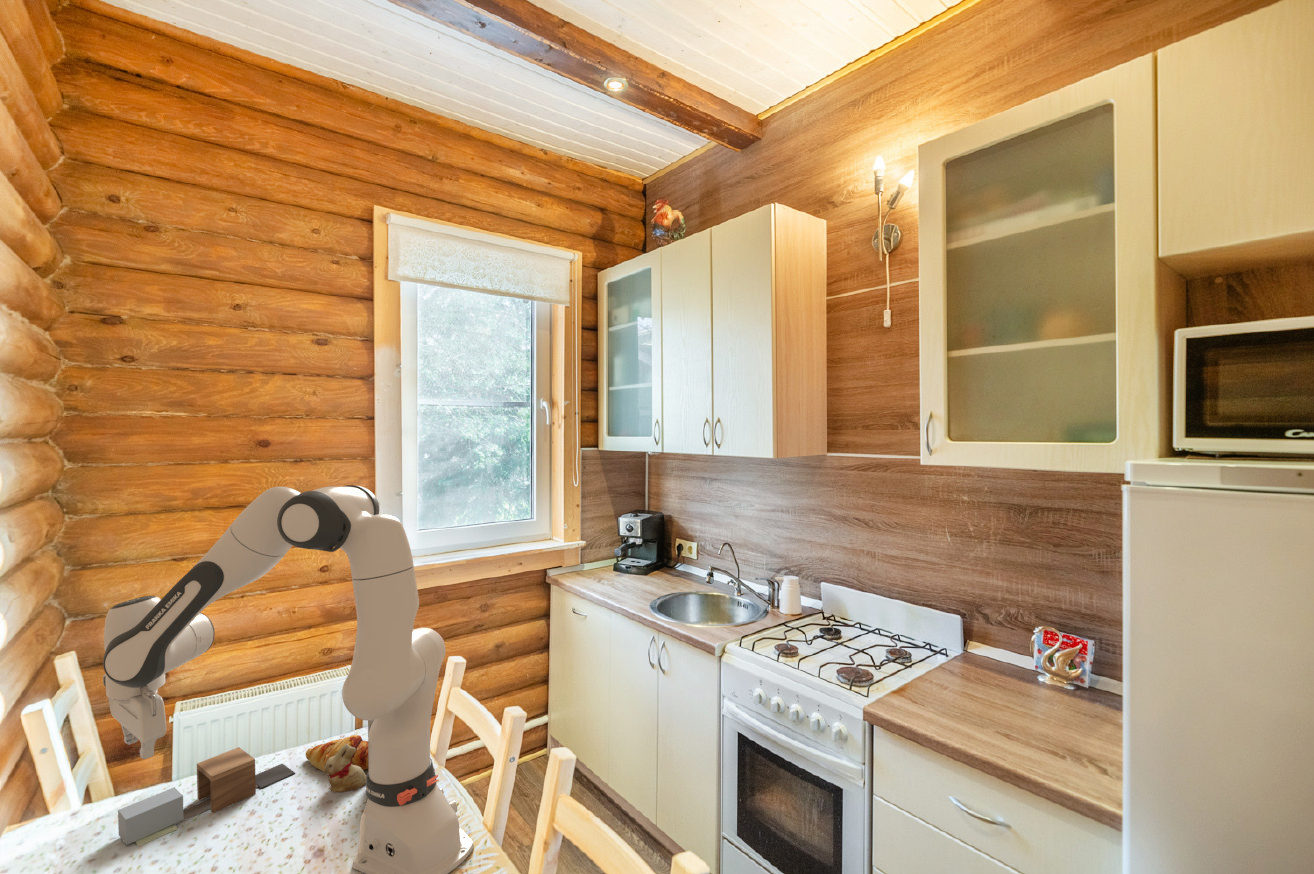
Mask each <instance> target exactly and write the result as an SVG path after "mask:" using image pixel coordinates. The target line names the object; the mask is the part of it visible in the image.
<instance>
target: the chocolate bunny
mask: <svg viewBox="0 0 1314 874" xmlns="http://www.w3.org/2000/svg"><path fill="white" fill-rule="evenodd" d="M355 753H356V749H355V748H354V747H351V746H349V745H348V744H345V745H344V746H342V747H341V749H340V750H339V751H338V753H337V754H336V755H335V756H333V757H331V758H329V759H328V760H327V762H326V765H325V772H326V773H325V774H326V775H327V776H328V777H329V779H328V782H329V784H330V787H329V791H330V792H331V793H345V792H350V791H353V790H357V789H359V788H361V787H363V786H364V785H366V776H367V774H366V773H365V770H362V768H361V767H359V766H356V765H352V764H351V762H350V760H351V757H352V756H353V755H354V754H355Z"/></svg>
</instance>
